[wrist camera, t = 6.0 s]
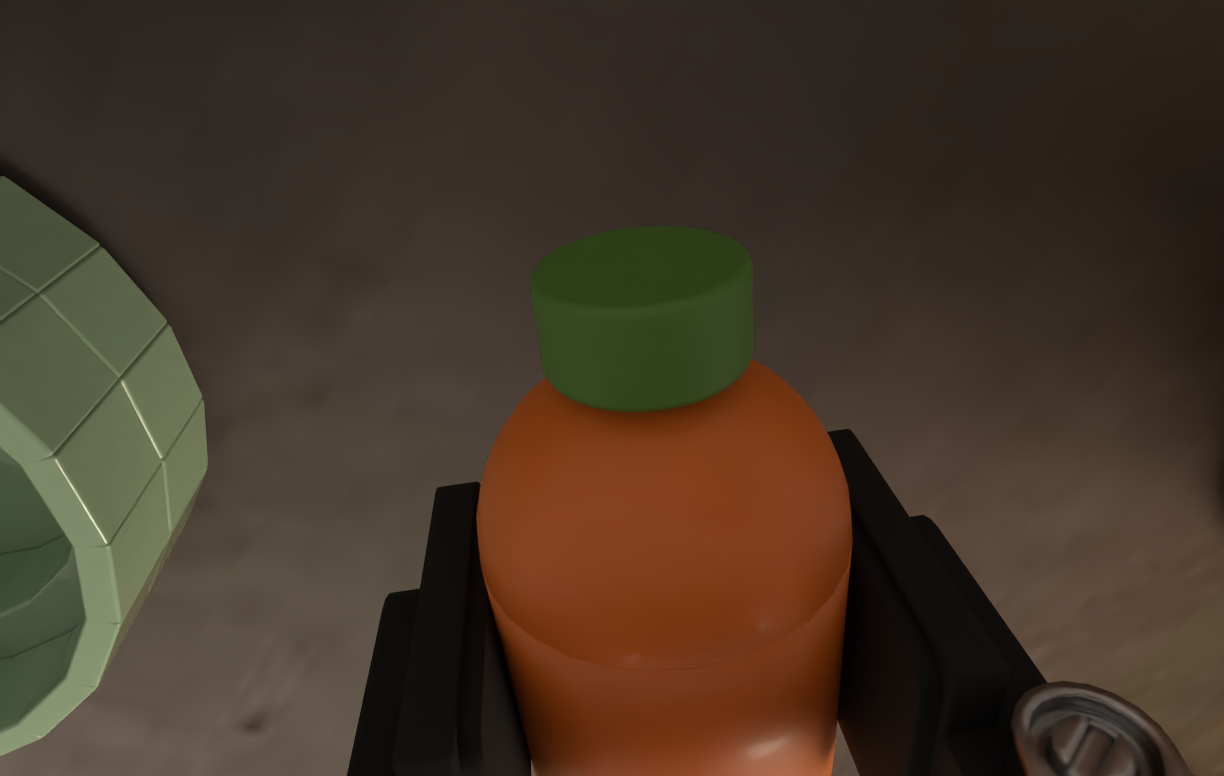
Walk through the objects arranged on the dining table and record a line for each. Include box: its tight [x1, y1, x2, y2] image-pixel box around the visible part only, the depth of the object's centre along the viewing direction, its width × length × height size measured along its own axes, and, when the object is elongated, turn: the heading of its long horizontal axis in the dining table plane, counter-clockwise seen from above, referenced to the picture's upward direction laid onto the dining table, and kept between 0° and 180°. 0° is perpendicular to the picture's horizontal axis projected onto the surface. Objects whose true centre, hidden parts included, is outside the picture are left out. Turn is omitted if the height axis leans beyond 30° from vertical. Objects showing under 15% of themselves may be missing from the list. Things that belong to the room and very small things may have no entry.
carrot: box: [476, 226, 852, 776], centre depth 10 cm, size 12×4×4 cm, turn 6°
